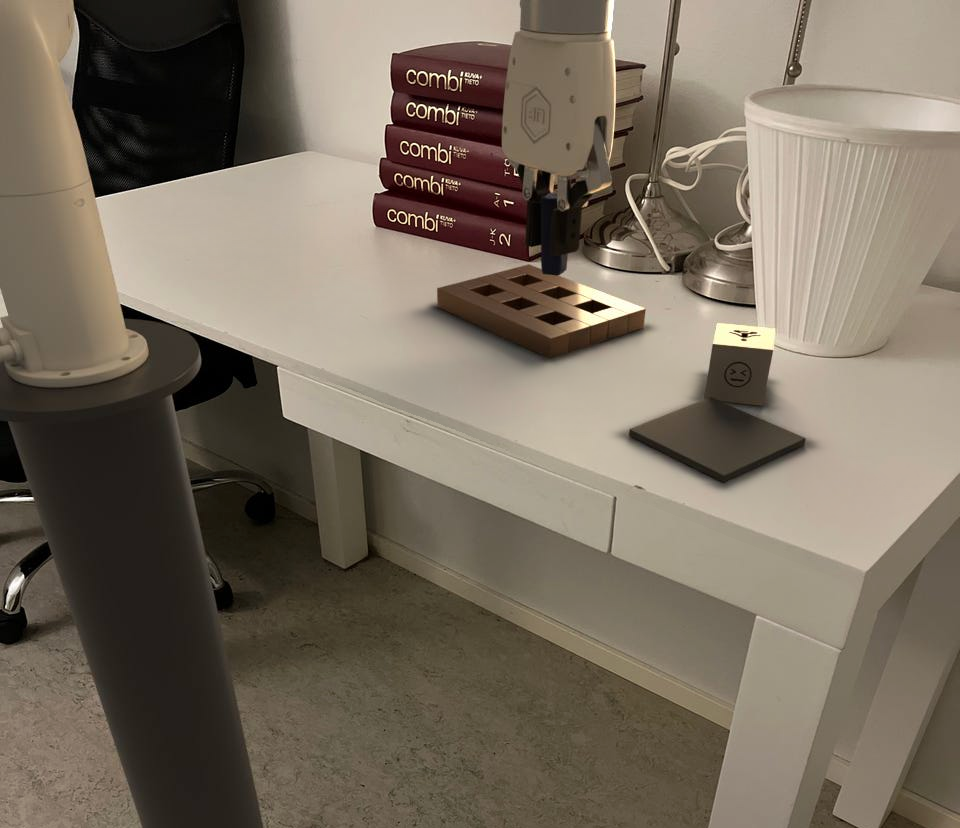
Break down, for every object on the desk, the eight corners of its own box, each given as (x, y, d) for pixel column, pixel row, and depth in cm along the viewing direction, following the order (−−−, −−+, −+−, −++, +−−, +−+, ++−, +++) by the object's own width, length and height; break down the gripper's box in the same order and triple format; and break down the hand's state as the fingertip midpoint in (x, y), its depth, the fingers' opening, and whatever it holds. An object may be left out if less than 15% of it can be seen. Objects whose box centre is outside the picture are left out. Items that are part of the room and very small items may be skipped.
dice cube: (765, 382, 87) (775, 328, 84) (762, 405, 83) (773, 349, 80) (709, 376, 88) (717, 322, 85) (704, 399, 84) (712, 343, 81)
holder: (549, 359, 92) (550, 338, 90) (437, 306, 103) (436, 287, 101) (644, 328, 98) (646, 308, 97) (528, 282, 109) (529, 264, 108)
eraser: (549, 266, 93) (548, 191, 89) (569, 269, 92) (570, 193, 88) (538, 273, 92) (537, 197, 87) (559, 276, 91) (559, 199, 86)
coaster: (722, 482, 73) (724, 475, 73) (628, 435, 79) (629, 428, 79) (804, 444, 78) (806, 437, 77) (709, 403, 84) (710, 396, 84)
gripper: (469, 8, 82) (467, 234, 93) (602, 29, 72) (581, 279, 84) (535, 4, 86) (526, 222, 97) (670, 23, 76) (642, 263, 87)
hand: (551, 246), depth 90 cm, fingers closed on eraser, 2 cm apart
